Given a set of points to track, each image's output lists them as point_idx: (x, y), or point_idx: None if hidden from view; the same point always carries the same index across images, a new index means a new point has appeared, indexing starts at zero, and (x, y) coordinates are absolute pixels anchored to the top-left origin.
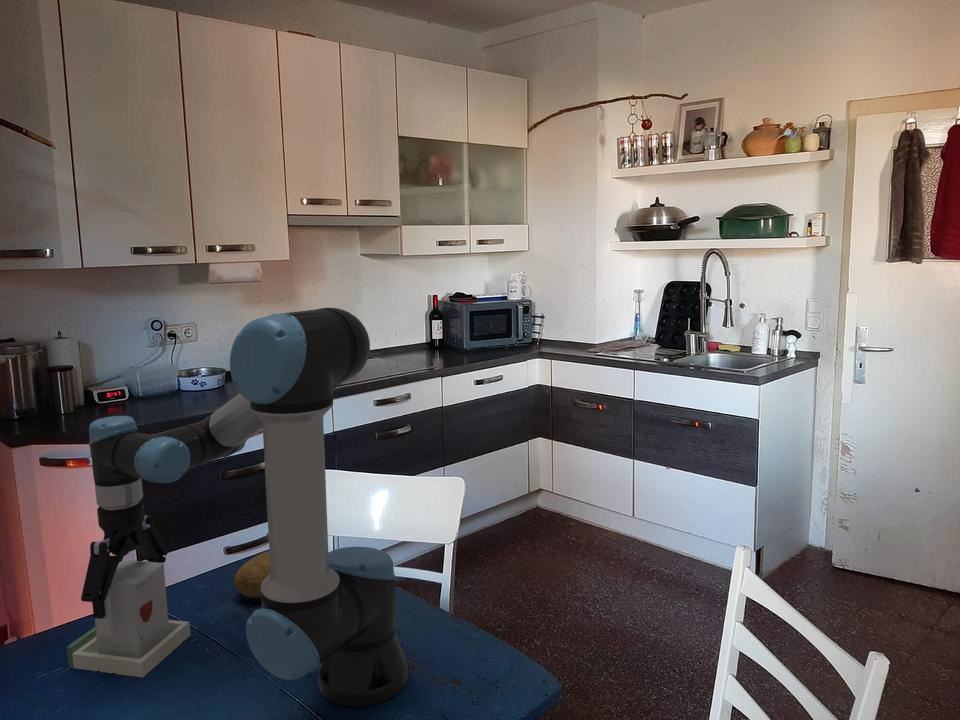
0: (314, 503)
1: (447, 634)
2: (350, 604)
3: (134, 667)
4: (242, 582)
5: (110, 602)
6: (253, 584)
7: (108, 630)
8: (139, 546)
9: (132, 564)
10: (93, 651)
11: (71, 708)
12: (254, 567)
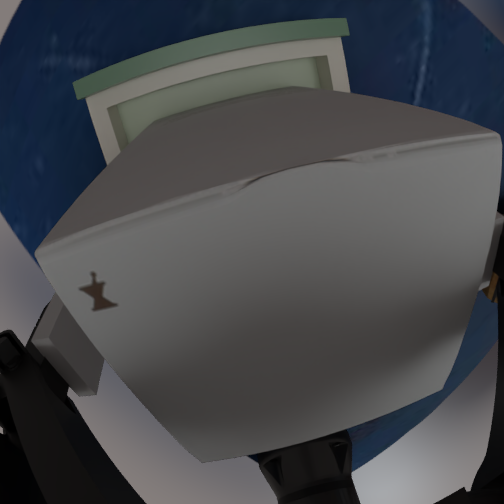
0: None
1: (392, 436)
2: None
3: None
4: (493, 273)
5: (99, 374)
6: (486, 291)
7: None
8: (493, 460)
9: (432, 297)
10: (161, 89)
11: (31, 245)
12: None
